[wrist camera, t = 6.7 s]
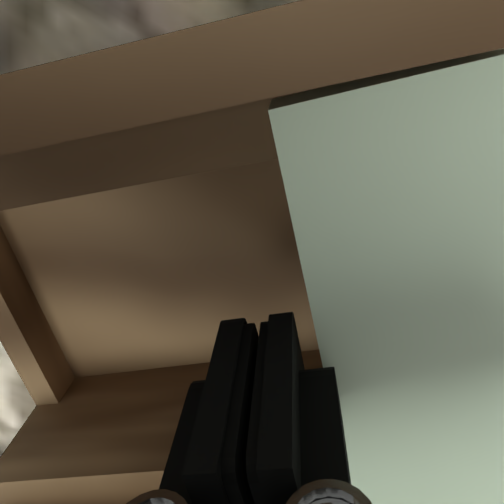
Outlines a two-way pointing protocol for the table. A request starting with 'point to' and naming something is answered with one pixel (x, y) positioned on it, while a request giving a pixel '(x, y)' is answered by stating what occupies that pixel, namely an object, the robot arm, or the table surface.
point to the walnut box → (166, 220)
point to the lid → (407, 269)
